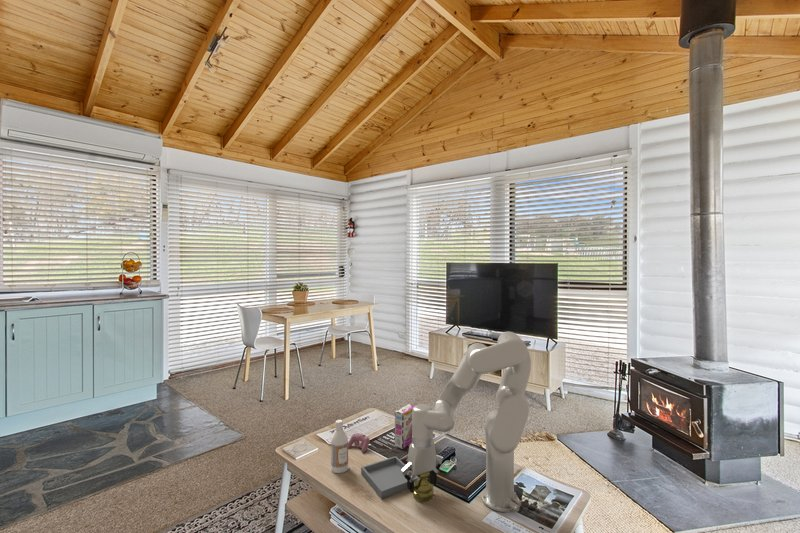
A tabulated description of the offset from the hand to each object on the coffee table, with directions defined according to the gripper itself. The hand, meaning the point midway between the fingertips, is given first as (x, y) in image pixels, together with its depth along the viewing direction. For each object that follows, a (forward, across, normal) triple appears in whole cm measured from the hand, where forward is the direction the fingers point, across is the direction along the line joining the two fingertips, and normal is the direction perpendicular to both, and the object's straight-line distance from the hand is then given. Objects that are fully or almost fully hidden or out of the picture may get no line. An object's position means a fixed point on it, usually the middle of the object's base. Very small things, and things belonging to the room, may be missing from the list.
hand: (422, 486), depth 136 cm
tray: (+4, +6, -15) cm, 16 cm away
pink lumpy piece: (+4, +6, -43) cm, 44 cm away
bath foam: (+4, +20, -32) cm, 38 cm away
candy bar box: (+4, -14, -36) cm, 39 cm away
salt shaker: (+4, 0, 0) cm, 4 cm away
